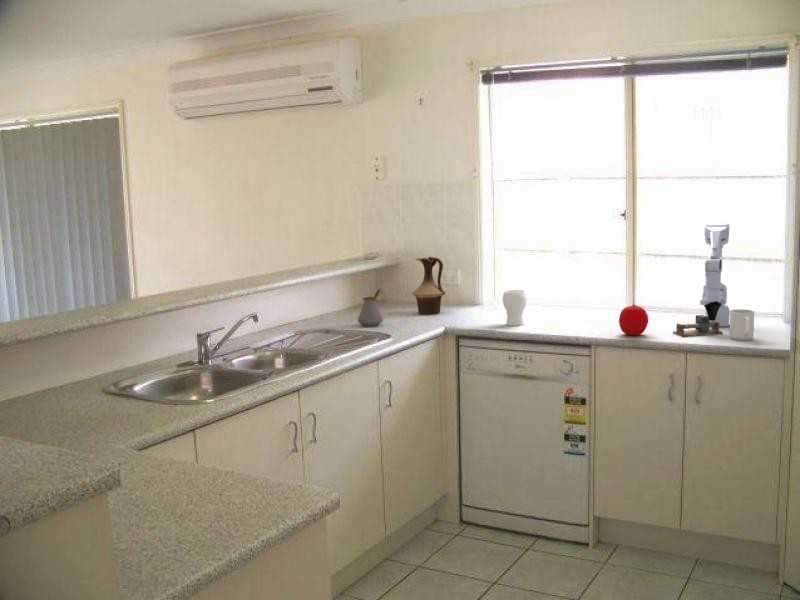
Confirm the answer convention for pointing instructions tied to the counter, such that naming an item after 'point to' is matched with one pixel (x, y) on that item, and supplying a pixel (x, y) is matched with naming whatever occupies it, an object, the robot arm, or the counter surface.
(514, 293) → the cup
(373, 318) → the coffee pot
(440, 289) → the pitcher
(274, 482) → the counter surface
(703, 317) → the collar
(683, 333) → the towel rail
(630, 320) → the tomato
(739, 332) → the mug
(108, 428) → the counter surface
